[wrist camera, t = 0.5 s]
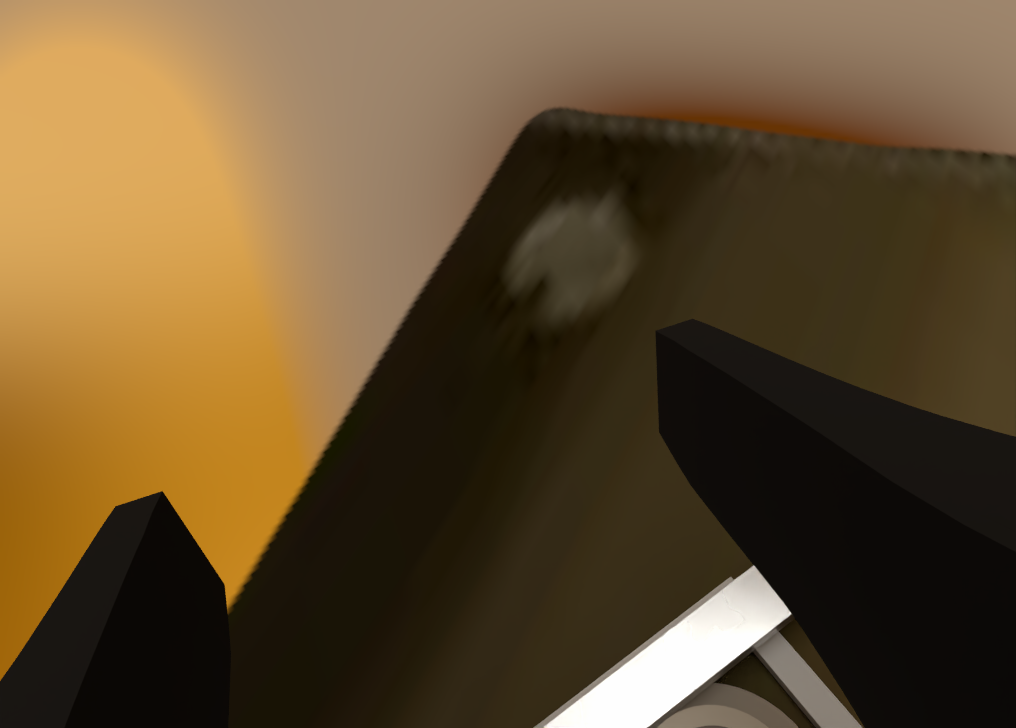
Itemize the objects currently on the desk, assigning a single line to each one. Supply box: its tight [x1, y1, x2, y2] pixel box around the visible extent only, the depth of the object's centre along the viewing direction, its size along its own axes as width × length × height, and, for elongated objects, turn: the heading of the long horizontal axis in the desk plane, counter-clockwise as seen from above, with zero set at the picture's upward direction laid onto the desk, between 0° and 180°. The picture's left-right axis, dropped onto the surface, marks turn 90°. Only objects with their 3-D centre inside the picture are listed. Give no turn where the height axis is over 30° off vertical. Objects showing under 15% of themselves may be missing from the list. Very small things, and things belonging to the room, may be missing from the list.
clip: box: [543, 566, 795, 728], centre depth 22 cm, size 3×16×2 cm, turn 123°
